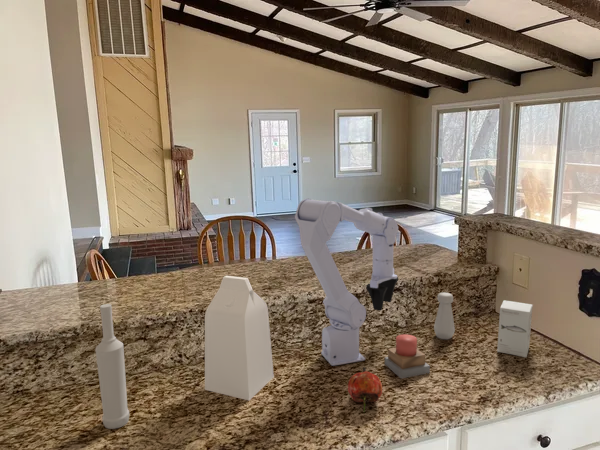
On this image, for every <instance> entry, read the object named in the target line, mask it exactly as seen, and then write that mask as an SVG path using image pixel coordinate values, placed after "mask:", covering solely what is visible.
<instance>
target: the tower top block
mask: <svg viewBox="0 0 600 450" xmlns="http://www.w3.org/2000/svg"><path fill="white" fill-rule="evenodd" d="M387 357H388V358H389V359H390V360H391V361H392V362H394V363H395V364H396V365H398V366H399V367H400V368H401V369H406V368H410V367H415V366H419V365H424V364H425V363H426V353H424V352H422V351H421V350H420V349H417V354H416V355H414V356H409V357H407V356H401V355H399V354H397V353H396V347H390V348H388V349H387Z"/></svg>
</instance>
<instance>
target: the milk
mask: <svg viewBox="0 0 600 450" xmlns="http://www.w3.org/2000/svg"><path fill="white" fill-rule="evenodd" d="M269 319H270V318H269V307H268V304H267V303H266V301H265V300H264V299H263V298H262V297H261V296H260V295H258V293H257V292H255V291H254V290H253V287H252V284H251V283H250V280H249V278H248V277H242V276H236V275H235V276H233V275H225V276H223V277H222V279H221V283H220V284H219V288H218V290H217V292H216V293H215V295H214V297H213V298H212V299H211V301H210V303H209V305H208V307H207V309H206V310H205V314H204V390H205V391H208V392H212V393H213V392H214V393H217V394H219V395H220V394H222V395H225V396H228V397H229V396H230V397H234V398H236V399H237V398H238V399H241V400H245V401H251V400H252V398H254V397H255V396H256V395H257V394H258V393H259V392H260V391H261V390H262V389H263V388H265V387H266V386H267V384H268V383H269V382H271V380H272V379H274V378H275V375H274V374H275V373H274V363H273V362H274V361H273V352H272V343H271V342H272V340H271V330H270V329H271V328H270V320H269Z"/></svg>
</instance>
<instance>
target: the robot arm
mask: <svg viewBox="0 0 600 450" xmlns="http://www.w3.org/2000/svg"><path fill="white" fill-rule="evenodd" d="M294 219H295V221H296V224H297V225H298V227H299V236H300V245H301V247H302V250H303V252H304V253H305V256H306V257H307V260H308V262H309V263H310V265H311V267H312V269H313V271H314V273H315V276H316V278H317V280H318V282H319V283H320V285H321V288H322V290H323V292H324V294H325V297H324V299H323V301H322V304H323V306H324V313H325V316H326V318H327V319H329V324H330V325H328V326H326V327H323V328H322V330H321V349H322V350H321V352H320V354H321V355H322V356H323V357H324V359H325V360H326V361H327V362H328V363H329V364H330V366H333V367H334V366H340V365H341V366H342V365H345V364H346V365H347V364H350V363H357V362H363V361H365V360H366V357H364V355H362V353H360V328H361V327H362V326H363V324H364V323H365V321H366V316H367V311H366V306H365V305H363V304H362V303H360V301H359V299H358V298H357V297H356V296H355V295H354V294H352V293H351V292H350V291H349V290H348V289H347V288H348V287H347V286H346V284H345V282H344V279H343V277H342V275H341V273H340V271H339V269H338V266H337V264H336V262H335V260H334V258H333V256H332V254H331V251H330V249H329V247H328V245H327V242H328V241H330V240H331V238H332V236H333V234H334V233H335V230H336V229H337V227H338V225H339V223H340V222H342V221H343V220H344V221H347V222H350V223H353V225H354V227H355V228H356V230H359V231H362V232H366V233H368V234H369V235H370V236H372V273H371V277H370V280H369V283H368V284H366V285H365V287H366V291H367V292H368V294H369V297H370V299H371V303H372V307H373V310H375V311H383V307H384V303H391V302H392V300H393V295H394V290H395V288H396V285H397V283H398V281H399V277H398V275H397V274H395V268H394V248H395V247H394V244H396V239H397V238H396V237H397V234H398V232H399V226H398V222H397V220H396V219H395V218H393V217H391V216H385V215H384V214H383V213H382V212H375V211H373V208H372V207H365V208H360V209H358V210H357V209H355V208H353V207H351V206H349V205H347V204H344V203H342V202H337V201H334V200H329V201H327V200H321V199H320V200H317V199H311V198H304V199H302V200H301V201H299V204H298V205H297V208H296V212H295V214H294Z"/></svg>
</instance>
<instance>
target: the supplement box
mask: <svg viewBox="0 0 600 450" xmlns="http://www.w3.org/2000/svg"><path fill="white" fill-rule="evenodd" d="M533 306H534V304H531V303H527V302H526V303H524V302H518V301H512V300H505V299H504V300H503V301H502V303H501V305H500V308H499V320H498V322H499V323H498V335H497V336H498V337H497V347H496V348H497V350H496V351H497V353H504V354H509V355H514V356H518V357H523V358H527V357H528V354H529V349H530V339H531V329H532V328H531V327H532V317H533V316H532V314H533Z"/></svg>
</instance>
